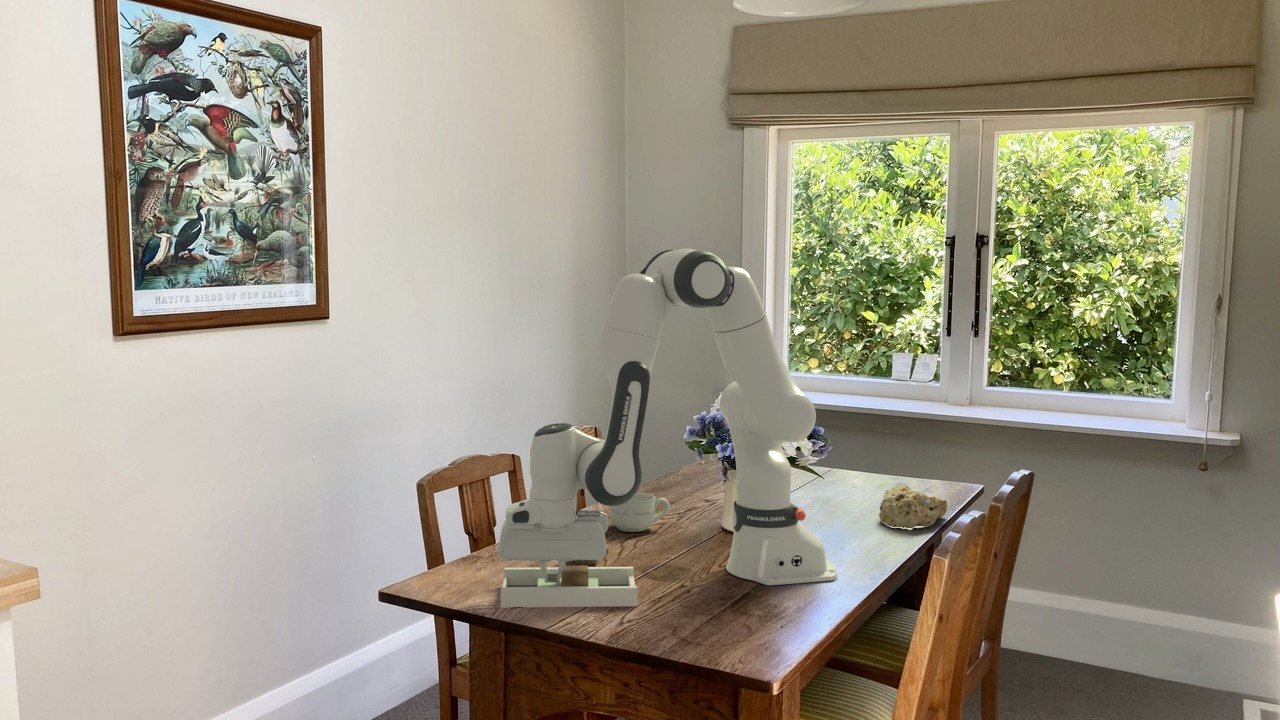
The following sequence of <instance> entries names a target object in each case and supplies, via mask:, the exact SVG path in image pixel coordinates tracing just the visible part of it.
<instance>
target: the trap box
mask: <svg viewBox="0 0 1280 720" xmlns="http://www.w3.org/2000/svg"><path fill="white" fill-rule="evenodd" d="M546 567H547V566H546ZM558 567H559V566H556V567H552V566H551V567H549V566H548V567H547V569H548V571H556V570H557V569H558ZM635 582H636V581H635V577H634V566H588V587H562V572H561V574H560V582H557V583H554V582H547V583H545V574H544V573H543V571H542V569H541V568H540V566H539V567H504V577H503V582H502V587H500V608H501V609H505V608H506V609H508V608H509V607H510V608H511V609H512V608H513V607H516V608H515V609H518V608H517V607H523V608H590V607H592V608H597V607H598V608H601V607H603V608H604V607H606V608H607V607H608V608H609V607H612V608H613V607H614V608H615V607H638V595H639V594H638V590H639V589H638V588H639V587H638V585H636V583H635ZM510 608H509V609H510Z"/></svg>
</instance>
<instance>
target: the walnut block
mask: <svg viewBox="0 0 1280 720" xmlns="http://www.w3.org/2000/svg"><path fill="white" fill-rule="evenodd" d="M588 567H589V565H566V566H565V567H564V569H563V570H562V587H588Z"/></svg>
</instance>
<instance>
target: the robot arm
mask: <svg viewBox="0 0 1280 720" xmlns="http://www.w3.org/2000/svg"><path fill="white" fill-rule="evenodd" d="M674 307H680V308H689V307H691V308H697V309H704V310H705V312H706V314H707V315H708V318H709V323H710V327H711V330H712V333H713V336H714V340H715V343H716V345H717V350H718V351H719V352H718V353H719V355H720V359H721V362H722V365H723V367H724V368H725V370H727V372H728V373H729V374H730V376H732V378H733V379H734V381H733V382H731V383H730V384H728V385H727V386H726V387H725V388H724V390H723V391H722V393H721V395H720V399H719V409H720V414H721V415H722V416H723V418H724V420H725V423H726V424H727V427H728V429H729V433H730V436H731V437H730V438H731V442H732V446H733V447H732V448H733V451H734V457H735V458H734V459H735V465H736V466H735V467H736V481H735V482H736V483H735V485H736V488H735V489H736V491H735V501H734V502H733V508H732V528H733V536H732V543H731V547H730V553H729V557H728V560H727V563H726V566H725V568H726V571H727V572H728V573H729V574H731V575H733V576H736V577H737V578H740V579H745V580H751V581H754V582H757V583H760V584H763V585H765V586H779V585H790V584H792V585H793V584H804V583H816V582H829V581H835V580H837V577H838V571H837V568H836V566H835V564H834V563H833V562H832V561H830V560H829V559H827V554H826V550H825V547H824V544H823V542H822V540H821V539H820V538H819V536H817V535H816V534H815V533H813V532H812V531H811V530H810V529H808V528H807V527H806V526H804V524H802V523H801V522H802V521H804V520H805V519H806V517H807V514H806V512H805V511H804V510H803V509H801V508H799V507H798V506H797V505H795V504H793V502H791V494H792V493H791V489H792V488H791V487H792V467H791V464H790V462H789V460H788V458H787V457H786V455H785V453H784V449H783V447H782V444H783V443H785V444H787V443H789V444H790V443H798V442H801V441H804V439H807V438H808V436H809V435H811V433H812V432H813V430H814V428H815V424H816V421H817V420H816V419H817V413H816V408H815V406H814V405H815V404H813V402H812V401H811V399H809V398H808V397H807V395H806V394H805V393H804V392H803V391H802V390H801V388H800V387H799V386H798V385H797V383H796V381H795V379H794V378H793V376H792V375H791V372H790V371H789V369H788V367H787V366H786V364H785V362H784V360H783V359H782V356H781V353H780V352H779V350H778V347H777V344H776V341H775V339H774V336H773V333H772V332H773V331H772V329H771V326H770V322H769V320H768V319H769V318H768V316H767V312H766V310H765V306H764V304H763V301H762V298H761V296H760V294H759V292H758V289H757V286H756V285H755V282H754V281H753V279H752V277H751V274H750V273H749V272H748V271H746V269H743V268H742V267H738V266H727V265H726V264H725V263H724V262H723V260H722V259H720V257H718V256H717V255H716V254H714V253H713V252H710V251H707V250H699V249H693V248H680V249H667V250H664V251H663V250H662V251H660V252H658V253H657V254H655V255H654V256H652V257H651V258H650V260H649V261H648V262H647V263H646V265H645V267H644V268H643V269H642V270H641V271H640V272H639V273H631V274H628V275H625V276H623V277H622V278H621V279H620V280H619V282H617V284H616V287H615V289H614V291H613V294H612V296H611V298H610V302H609V304H608V306H607V309H606V313H605V316H604V320H603V323H602V327H601V331H600V336H599V342H598V343H599V345H598V363H599V365H600V367H601V368H602V369H601V370H602V371H603V372H604V374H605V377H606V379H607V381H608V384H609V388H610V392H611V393H610V394H611V404H610V410H609V415H608V420H607V421H608V422H607V427H606V431H605V437H604V439H603V438H598V437H594V436H593V435H590V434H587V433H586V432H585V433H584V432H583V431H581V430H580V429H578V428H576V427H575V426H574V425H573V424H571V423H567V422H566V423H565V422H561V423H560V422H559V423H552V424H548V425H545V426H543V427H541V428H539V429H538V430H536V431H535V433H534V435H533V437H532V441H531V447H530V454H529V455H530V456H529V475H530V480H531V486H530V487H531V488H530V489H529V498H528V499H523V500H520V501H517V502H514V503H511V504H509V505H508V507H507V508H506V510H505V520H504V522H503V525H502V528H501V530H500V536H499V544H498V557H499V558H500V559H501V560H502V561H538V566H539V567H540V568H541V569H542V571H543V573H544V574H545V583H547V582H554V583H557V582H560V574H561V572H562V570H563V569H564V567H565V566H567V565H566V564H567V563H566V562H567V561H574V560H598V561H602V560H604V558H605V557H606V556H607V547H606V546H607V545H606V534H605V533H607V531H608V529H609V517H608V516H607V514H606V513H605V512H601V510H599V509H594V510H586V509H581V510H580V509H579V510H578V509H577V508H578V507H577V506H578V505H577V504H578V503H577V502H578V501H577V500H578V497H577V496H578V495H577V494H578V491H579V490H585V489H586V490H587V491H588V493H590V495H591V497H592V498H593V499H594V501H596V502H598V503H599V504H601V505H604V506H608V507H610V506H617V505H621V504H623V503H625V502H627V501H629V500H630V499H631V498H632V497H633V496H634V495H635V494H636V493H638V491H639V489H640V486H641V483H642V473H643V472H642V467H641V461H640V445H641V441H642V440H641V439H642V434H643V433H642V432H643V429H644V428H643V427H644V424H645V423H644V422H645V416H646V410H647V405H648V398H649V391H650V384H651V378H652V372H653V367H654V364H655V363H654V362H655V359H656V356H657V355H656V354H657V350H658V346H659V343H660V338H661V334H662V329H663V324H664V321H665V319H666V317H667V315H668V314H669V312H670V311H671V310H672V309H673V308H674ZM799 521H801V522H799ZM547 561H558V562H557V565H558V566H557V567H558V569H557V570H556V571H548V569H547V565H548V564H547Z"/></svg>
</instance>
